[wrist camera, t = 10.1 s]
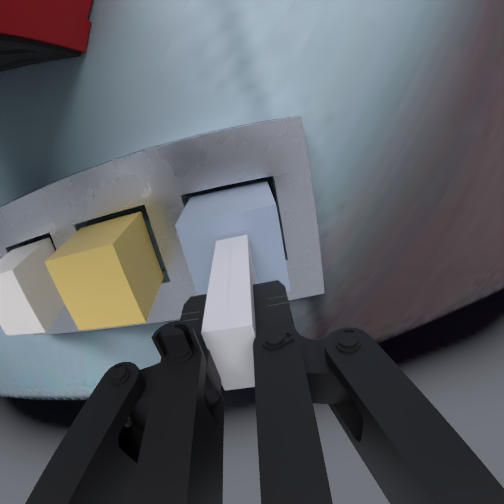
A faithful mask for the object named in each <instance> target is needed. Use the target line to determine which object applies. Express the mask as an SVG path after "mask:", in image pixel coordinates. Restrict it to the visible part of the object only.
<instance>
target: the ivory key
mask: <svg viewBox="0 0 504 504" xmlns="http://www.w3.org/2000/svg"><path fill="white" fill-rule="evenodd" d="M54 252H55V249H54V247H53V245H52V242H51V240H50V237H49V238H46V239H43V240H40V241H37V242H34V243H31V244H28V245H25V246H22V247H19V248H16V249H13V250H11V251H10V252H9V253H7V254H6V255H5V256H4V257H3V258H1V259H0V325H1V327H2V329H3V330H4V332H5V334H6V335H19V334H32V333H45V332H46V331H47V330H48V328H49V327H50V325H51V324H52V323H53V321H54V320H55V318H56V317H57V315H58V314H59V313H60V311H61V310H62V308H63V307H64V306H65V304H64V302H63V300H62V298H61V296H60V294H59V292H58V290H57V288H56V286H55V284H54V282H53V280H52V277H51V275H50V273H49V271H48V269H47V267H46V264H45V262H44V261H45V260H47V259H48V258H49V257H50V256H51V255H52V254H53V253H54Z"/></svg>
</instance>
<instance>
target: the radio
mask: <svg viewBox="0 0 504 504" xmlns="http://www.w3.org/2000/svg"><path fill="white" fill-rule="evenodd" d="M91 3H92V0H0V72H1V71H5V70H9V69H13V68H17V67H21V66H26V65H30V64H35V63H40V62H45V61H51V60H57V59H63V58H70V57H77V56H80V55H81V52H86V47H87V41H88V36H89V31H90V26H91V22H90V21H88V15H89V11H90V7H91Z"/></svg>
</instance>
